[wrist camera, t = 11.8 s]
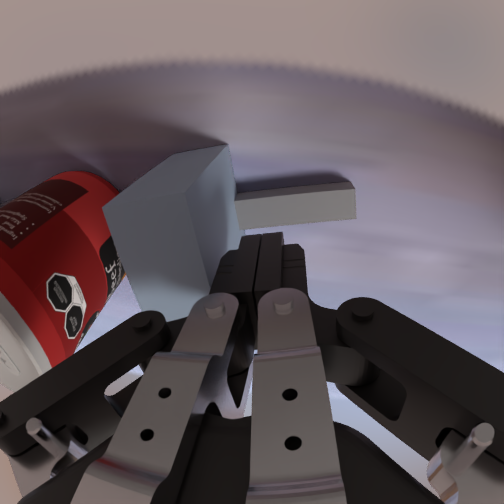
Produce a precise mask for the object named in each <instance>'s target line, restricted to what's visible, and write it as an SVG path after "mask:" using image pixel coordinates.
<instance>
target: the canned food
mask: <svg viewBox="0 0 504 504" xmlns="http://www.w3.org/2000/svg"><path fill="white" fill-rule="evenodd" d="M118 194H119V191H117V190H116V189H115V188H114V187H113V186H112V185H111V184H110V183H109V182H107V181H106V180H105V179H103V178H102V177H100V176H98V175H95V174H93V173H90V172H85V171H69V172H63V173H60V174H57V175H55V176H53V177H52V178H50V179H48V180H46V181H44V182H43V183H41V184H39V185H37V186H36V187H34V188H32V189H30V190H29V191H27V192H25V193H24V194H22V195H20V196H19V197H17V198H16V199H14V200H12V201H11V202H9V203H8V204H6V205H4V206H3V207H1V208H0V384H1V385H3V386H4V387H6V388H8V389H9V390H11V391H13V392H16V391H18V390H19V389H21V388H22V387H24V386H25V385H27V384H28V383H30V382H31V381H33V380H35V379H36V378H38V377H39V376H41V375H42V374H44V373H45V372H47V371H48V370H50V369H51V368H53V367H54V366H56V365H58V364H59V363H61V362H62V361H64V360H65V359H67V358H68V357H70V356H71V355H73V354H74V352H75V351H76V349H77V347H78V346H79V344H80V343H81V341H82V339H83V338H84V336H85V335H86V333H87V332H88V330H89V328H90V327H91V325H92V324H93V322H94V321H95V319H96V318H97V316H98V315H99V313H100V312H101V310H102V309H103V307H104V306H105V304H106V303H107V301H108V300H109V298H110V297H111V295H112V294H113V292H114V291H115V290H116V288H117V287H118V285H119V284H120V282H121V281H122V280H123V278H124V277H125V275H126V273H125V270H124V268H123V265H122V262H121V260H120V257H119V255H118V252H117V249H116V247H115V244H114V241H113V239H112V236H111V233H110V230H109V227H108V225H107V222H106V219H105V216H104V213H103V210H102V207H103V206H104V205H106V204H107V203H108V202H109V201H111V200H112V199H113V198H114V197H116V196H117V195H118Z"/></svg>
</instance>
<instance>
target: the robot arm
mask: <svg viewBox="0 0 504 504" xmlns="http://www.w3.org/2000/svg"><path fill="white" fill-rule="evenodd" d="M256 349H258V352H257V354H254V350H256ZM253 355H254V357H253ZM138 364H139V366H140V368H141V369H142V371H143V373H144V374H143V375H142V376H141V377H139V378H138V379H136V380H135V381H134V382H132V383H131V384H129V385H128V386H127V387H125V388H124V389H122V390H121V391H119V392H118V393H116V394H115V395H112V396H107V395H105V394H104V392H105V389H106V388H107V386H108V385H110V384H111V383H112V382H113V381H115V380H117V379H118V378H120V377H121V376H122V375H124V374H125V373H127V372H128V371H130V370H131V369H133V368H134V367H136V366H137V365H138ZM252 375H253V381H252V416H248V417H243V416H244V411H245V406H246V402H247V397H248V393H249V389H250V384H251V380H252ZM326 381H328V382H333V383H335V385H336V387H337V389H338V390H339V391H340V392H341V393H342V394H343V395H345V396H346V397H347V398H348V399H350V400H351V401H352V402H353V403H355V404H356V405H357V406H358V407H359V408H361V409H362V410H363V411H364V412H366V413H367V414H368V415H369V416H371V417H372V418H373V419H375V420H376V421H377V422H378V423H380V424H381V425H382V426H383V427H385V428H386V429H387V430H388V431H390V432H391V433H393V434H394V435H395V436H396V437H397V438H399V439H400V440H401V441H403V442H404V443H405V444H407V445H408V446H409V447H411V448H412V449H413V450H415V451H416V452H417V453H419V454H420V455H421V456H423V457H424V458H425V459H427V460H428V461H429V463H428V466H427V478H428V481H429V483H430V485H431V486H432V487H433V488H434V489H435V490H436V491H437V493H438V494H439V496H440V499H441V500H440V499H439V498H438V497H437V496H435V495H434V494H432V492H430V491H429V490H428V489H427V488H425V487H424V486H423V485H422V484H421V483H419V482H418V481H417V480H416V479H415V478H413V477H412V476H411V475H410V474H409V473H408V472H406V471H405V470H404V469H403V468H402V467H401V466H399V465H398V464H397V463H396V462H395V461H394V460H392V459H391V458H390V457H389V456H388V455H387V454H385V453H384V452H383V451H382V450H381V449H380V448H379V447H378V446H377V445H375V444H374V443H373V442H372V441H371V440H370V439H369V438H367V437H366V436H365V435H363V434H362V433H360V432H359V431H357V430H355V429H353V428H351V427H349V426H347V425H344V424H341V423H337V422H334V421H333V419H332V413H331V406H330V400H329V394H328V388H327V383H326ZM0 449H1V450H3V452H4V453H5V454H6V455H7V456H8V457H9V461H10V464H11V467H12V470H13V473H14V476H15V479H16V481H17V484H18V487H19V490H20V492H21V495H22V497H23V498H22V499H21V500H20V501H19V502H18V503H17V504H504V373H503V372H502V371H500V370H498V369H497V368H495V367H493V366H491V365H490V364H488V363H486V362H485V361H483V360H481V359H479V358H478V357H476V356H474V355H473V354H471V353H469V352H467V351H466V350H464V349H462V348H461V347H459V346H457V345H455V344H454V343H452V342H450V341H448V340H447V339H445V338H443V337H442V336H440V335H438V334H436V333H435V332H433V331H431V330H429V329H428V328H426V327H424V326H422V325H421V324H419V323H417V322H415V321H414V320H412V319H410V318H408V317H406V316H405V315H403V314H401V313H399V312H398V311H396V310H394V309H392V308H391V307H389V306H387V305H385V304H383V303H382V302H380V301H378V300H375V299H372V298H367V297H358V298H353V299H350V300H347V301H345V302H344V303H342V304H341V305H340V306H339V308H338V309H337V310H335V309H328V308H324V307H321V306H319V305H317V304H315V303H314V302H313V301H311V299H310V298H309V296H308V289H307V277H306V265H305V254H304V250H303V249H302V248H301V246H300V245H299V244H288V245H284V238H283V232H276V233H265V234H256V235H246V236H242V237H241V240H240V244H239V247H238V249H236V250H229V251H228V252H227V253H226V254H225V255H223V256H222V257H221V259H220V262H219V265H218V268H217V271H216V275H215V277H214V280H213V283H212V286H211V289H210V292H209V295H207V296H204V297H202V298H201V299H199V300H198V301H197V302H196V303H195V304H194V305H193V307H192V309H191V311H190V313H189V315H188V316H187V317H184V318H180V319H177V320H173V321H169V322H167V321H166V319H165V317H164V315H163V314H162V313H161V312H159V311H154V310H148V311H143V312H140V313H137V314H135V315H134V316H132V317H130V318H129V319H127V320H126V321H124V322H123V323H121V324H119V325H118V326H116V327H115V328H113V329H112V330H110V331H109V332H107V333H105V334H104V335H102V336H101V337H99V338H98V339H96V340H95V341H93V342H91V343H90V344H88V345H87V346H85V347H84V348H82V349H81V350H79V351H78V352H76V353H74V354H73V355H71V356H70V357H68V358H67V359H65V360H64V361H62V362H61V363H59V364H58V365H56V366H54V367H53V368H51V369H50V370H48V371H47V372H45V373H44V374H42V375H41V376H39V377H38V378H36V379H35V380H33V381H31V382H30V383H28V384H27V385H25V386H24V387H22V388H21V389H19V390H18V391H16V392H15V393H13V394H12V395H10V396H9V397H7V398H6V399H5V400H3V401H1V402H0Z"/></svg>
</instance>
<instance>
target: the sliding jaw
mask: <svg viewBox="0 0 504 504" xmlns="http://www.w3.org/2000/svg"><path fill="white" fill-rule="evenodd" d="M102 210H103V213H104V216H105V219H106V222H107V225H108V227H109V230H110V233H111V236H112V239H113V241H114V244H115V247H116V249H117V252H118V255H119V257H120V260H121V262H122V265H123V268H124V270H125V273H126V275H127V277H128V280H129V282H130V285H131V287H132V290H133V292H134V294H135V297H136V299H137V301H138V304H139V306H140V308H141V310H142V312H143V311H148V310H154V311H159V312H161V313H162V314H163V315H164V317H165V319H166V321H167V322H169V321H173V320H177V319H180V318H184V317H187V316H188V315H189V313H190V311H191V309H192V307H193V305H194V304H195V303H196V302H197V301H198V300H199V299H201V298H202V297H204V296H207V295H209V292H210V289H211V286H212V283H213V280H214V277H215V275H216V271H217V268H218V265H219V262H220V259H221V257H222V256H223V255H225V254H226V253H227V252H228V251H229V250H236V249H238V247H239V244H240V240H241V237H242V236H245V229H255V228H264V227H274V226H284V225H294V224H304V223H315V222H326V221H337V220H348V219H356V195H355V188H354V186H353V184H352V183H351V182H339V183H328V184H316V185H306V186H296V187H286V188H277V189H268V190H260V191H251V192H243V193H237V188H236V183H235V178H234V173H233V167H232V162H231V157H230V151H229V146H228V144H226V145H220V146H214V147H208V148H202V149H197V150H192V151H186V152H181V153H176V154H173V155H171V156H170V157H168V158H167V159H166V160H164V161H163V162H161V163H160V164H158V165H157V166H156V167H154V168H153V169H151V170H150V171H149V172H147V173H146V174H145V175H143V176H142V177H141V178H139V179H138V180H137V181H135V182H134V183H133V184H131V185H130V186H129V187H127V188H126V189H125V190H123V191H122V192H121V193H119V194H118V195H117V196H116V197H114V198H113V199H112V200H111V201H109V202H108V203H107V204H106V205H104V206H103V207H102Z"/></svg>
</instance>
